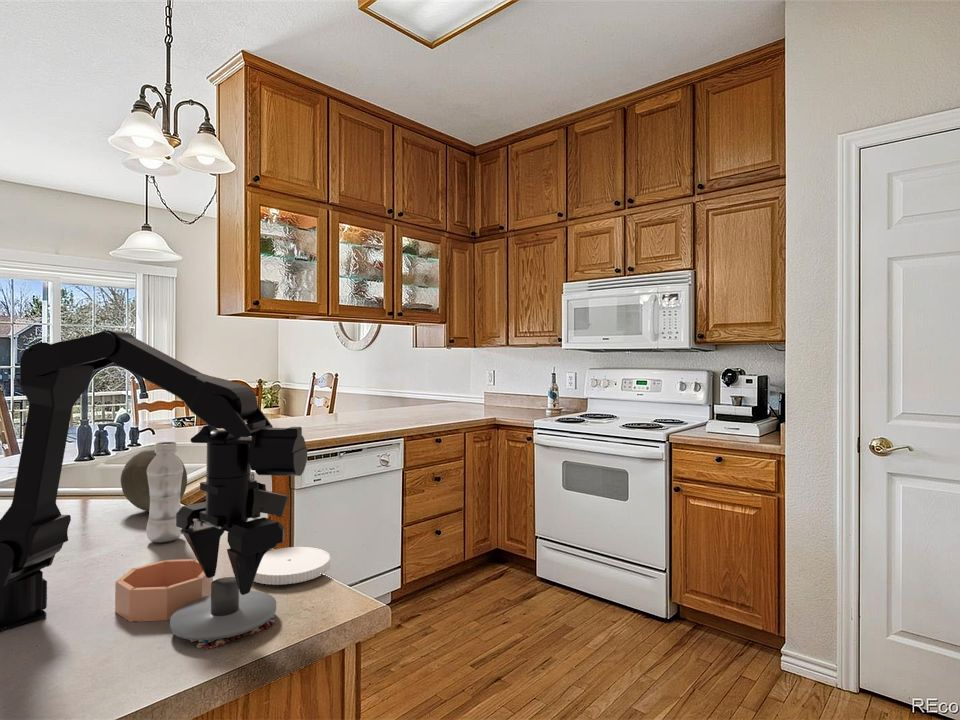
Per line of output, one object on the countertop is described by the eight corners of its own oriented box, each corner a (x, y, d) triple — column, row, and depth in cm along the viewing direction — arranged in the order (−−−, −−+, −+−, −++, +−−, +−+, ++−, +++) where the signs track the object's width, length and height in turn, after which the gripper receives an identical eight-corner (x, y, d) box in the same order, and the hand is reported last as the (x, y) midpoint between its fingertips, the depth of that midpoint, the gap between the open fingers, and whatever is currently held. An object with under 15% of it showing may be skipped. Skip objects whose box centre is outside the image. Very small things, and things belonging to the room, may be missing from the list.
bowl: (140, 629, 77) (140, 596, 77) (105, 605, 85) (106, 575, 85) (224, 600, 87) (224, 571, 87) (186, 580, 94) (187, 554, 94)
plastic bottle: (188, 540, 115) (189, 443, 115) (151, 548, 110) (153, 446, 110) (177, 533, 119) (178, 439, 119) (141, 541, 114) (142, 442, 114)
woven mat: (201, 658, 72) (202, 642, 72) (172, 630, 79) (172, 615, 79) (279, 630, 79) (279, 616, 79) (246, 607, 86) (246, 593, 86)
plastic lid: (230, 575, 98) (230, 561, 98) (301, 554, 108) (302, 541, 108) (273, 598, 89) (273, 582, 89) (346, 573, 99) (346, 559, 99)
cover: (200, 651, 70) (200, 612, 70) (152, 620, 78) (152, 585, 78) (295, 611, 80) (295, 578, 80) (244, 588, 89) (244, 557, 89)
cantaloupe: (192, 503, 144) (193, 444, 144) (179, 518, 130) (180, 453, 130) (130, 506, 140) (131, 446, 140) (109, 522, 126) (110, 455, 126)
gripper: (317, 474, 80) (316, 584, 80) (246, 458, 91) (244, 555, 91) (244, 488, 71) (242, 611, 71) (175, 469, 82) (173, 575, 82)
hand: (227, 585), depth 79 cm, fingers open, 9 cm apart
